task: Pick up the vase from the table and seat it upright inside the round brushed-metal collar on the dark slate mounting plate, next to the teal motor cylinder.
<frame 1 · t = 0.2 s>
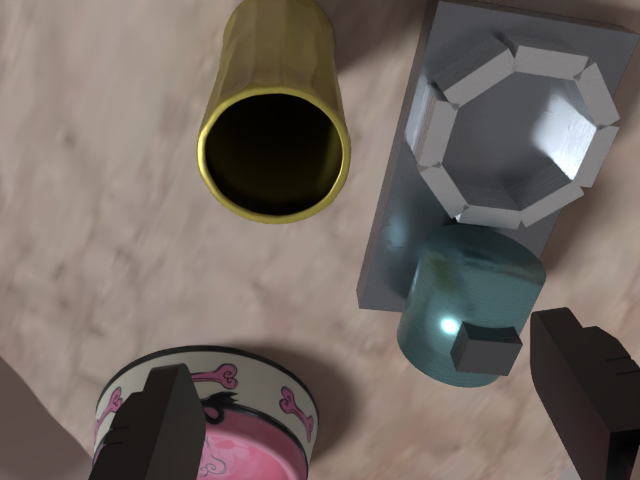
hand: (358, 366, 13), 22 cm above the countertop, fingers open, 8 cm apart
dog bowl: (210, 421, 48), on the countertop
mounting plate: (471, 175, 36), on the countertop
vase: (279, 47, 31), on the countertop
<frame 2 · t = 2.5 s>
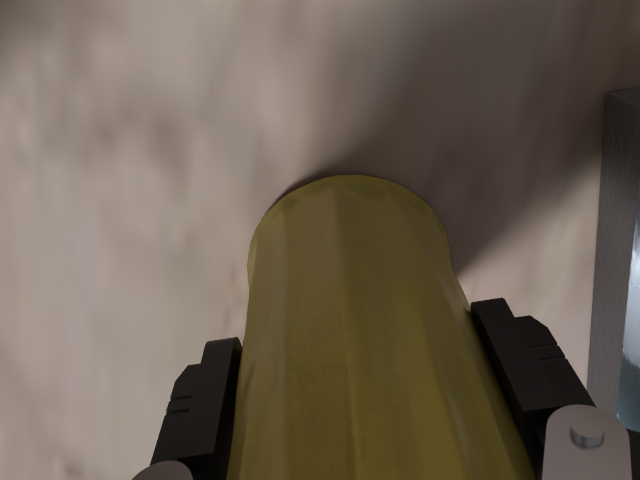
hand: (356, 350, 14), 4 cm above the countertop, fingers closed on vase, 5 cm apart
vase: (348, 261, 17), on the countertop, touching gripper
when the fingers open (7 cm above the countertop, at t = 8.4 s): vase stays where it is, resting on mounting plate.
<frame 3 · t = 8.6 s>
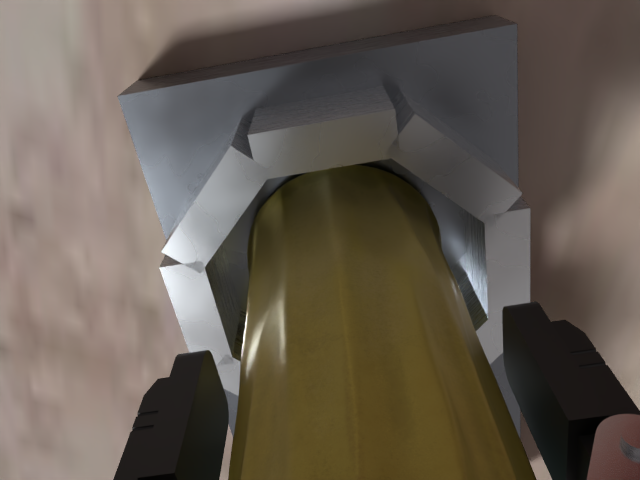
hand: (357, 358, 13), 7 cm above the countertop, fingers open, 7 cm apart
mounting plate: (358, 315, 22), on the countertop
vase: (343, 248, 18), point 2 cm above the countertop, touching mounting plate
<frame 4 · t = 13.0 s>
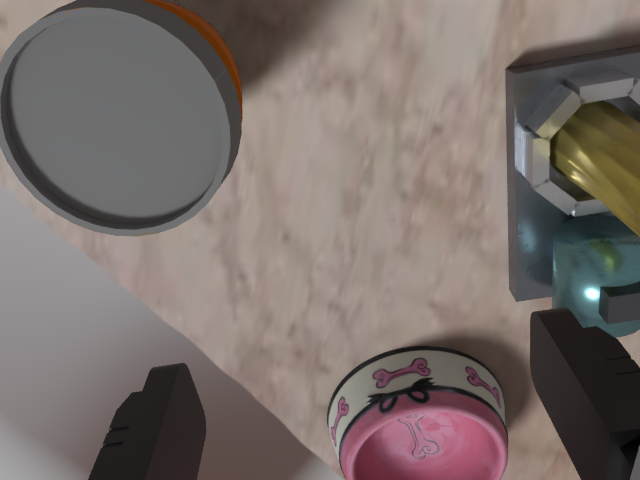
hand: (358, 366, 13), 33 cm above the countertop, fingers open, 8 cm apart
reusable coffee cup: (175, 72, 42), on the countertop
dog bowl: (415, 413, 59), on the countertop
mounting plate: (574, 179, 47), on the countertop
vase: (585, 139, 43), point 2 cm above the countertop, touching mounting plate
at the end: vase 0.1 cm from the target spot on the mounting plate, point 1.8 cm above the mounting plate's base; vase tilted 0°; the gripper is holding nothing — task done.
